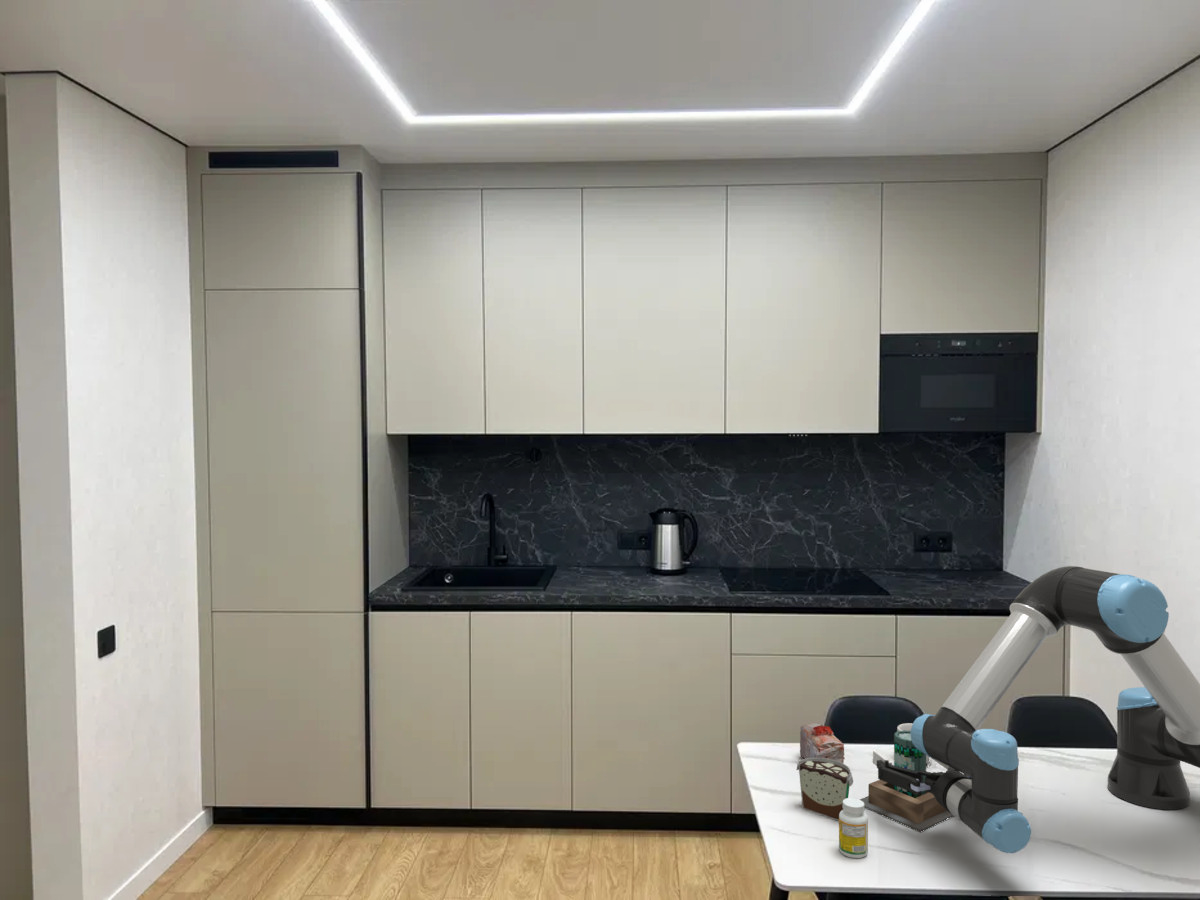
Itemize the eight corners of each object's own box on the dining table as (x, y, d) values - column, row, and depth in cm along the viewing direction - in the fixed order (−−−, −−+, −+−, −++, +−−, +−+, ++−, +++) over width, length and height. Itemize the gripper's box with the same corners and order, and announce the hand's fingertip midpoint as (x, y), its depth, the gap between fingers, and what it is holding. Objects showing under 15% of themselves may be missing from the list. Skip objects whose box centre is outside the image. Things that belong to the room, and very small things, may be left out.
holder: (965, 810, 179) (966, 790, 179) (920, 832, 170) (920, 810, 170) (900, 784, 192) (900, 765, 192) (854, 803, 183) (854, 783, 183)
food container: (863, 814, 178) (863, 767, 177) (850, 825, 173) (850, 776, 173) (810, 797, 186) (810, 752, 186) (796, 806, 181) (796, 760, 181)
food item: (849, 777, 196) (849, 735, 196) (816, 780, 195) (816, 737, 195) (825, 754, 210) (825, 715, 209) (794, 756, 208) (794, 717, 208)
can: (888, 804, 181) (889, 734, 181) (905, 796, 185) (905, 728, 184) (914, 814, 176) (914, 743, 176) (930, 806, 180) (931, 736, 180)
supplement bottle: (860, 862, 159) (860, 811, 158) (833, 852, 162) (834, 803, 162) (872, 850, 163) (872, 801, 162) (846, 842, 166) (846, 793, 166)
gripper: (901, 822, 160) (849, 776, 181) (1021, 810, 164) (956, 767, 185) (902, 783, 160) (849, 741, 180) (1021, 772, 164) (956, 733, 185)
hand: (903, 754), depth 183 cm, fingers open, 13 cm apart
